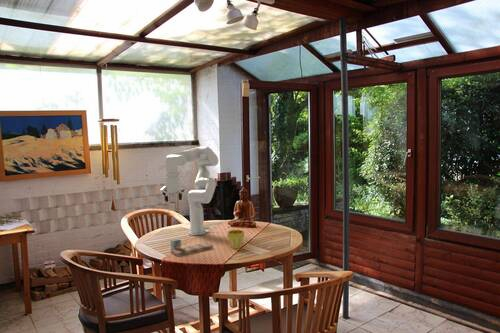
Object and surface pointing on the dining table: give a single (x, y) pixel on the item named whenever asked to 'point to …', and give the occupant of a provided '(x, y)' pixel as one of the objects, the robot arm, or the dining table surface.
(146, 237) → the dining table surface
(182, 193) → the robot arm
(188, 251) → the board
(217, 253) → the dining table surface
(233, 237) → the plant pot
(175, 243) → the wooden handled gray mallet
